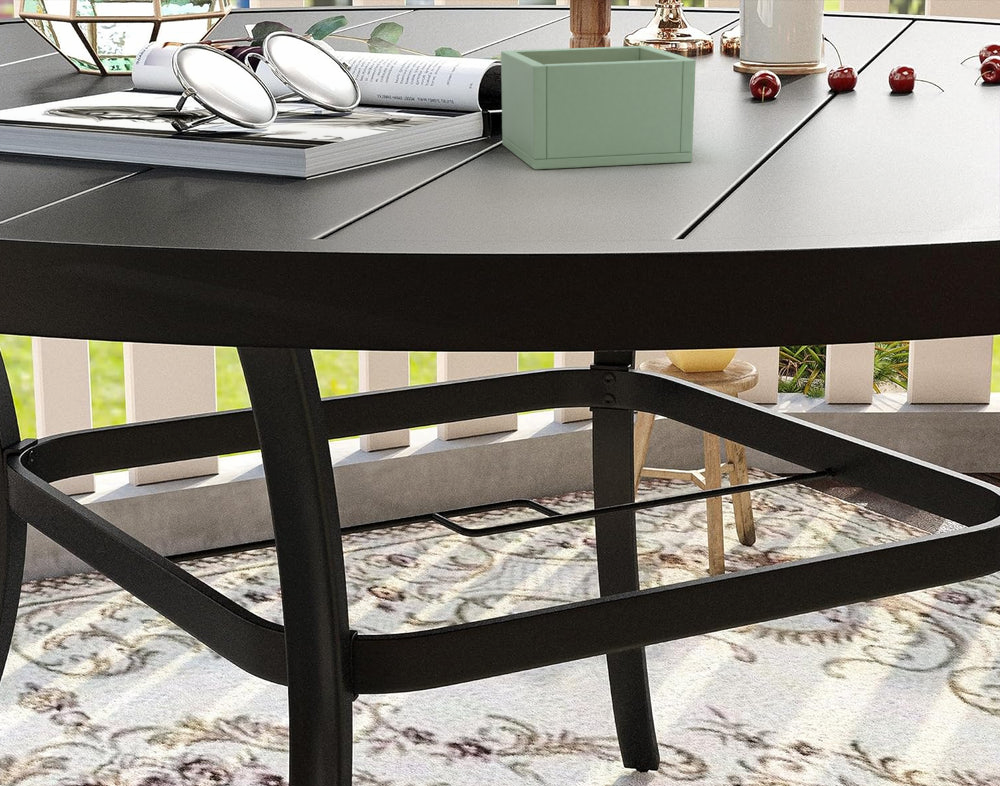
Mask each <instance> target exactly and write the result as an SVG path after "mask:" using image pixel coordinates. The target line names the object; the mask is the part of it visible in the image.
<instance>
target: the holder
mask: <svg viewBox="0 0 1000 786" xmlns="http://www.w3.org/2000/svg"><path fill="white" fill-rule="evenodd" d="M696 62H697V61H696V59H694V58H690V57H686V56H685V55H684V56H683V55H680V54H676V53H673V52H670V51H667V50H664V49H660V48H657V47H653V46H650V45H628V46H627V45H626V46H601V47H600V46H599V47H570V48H569V47H568V48H541V49H538V48H537V49H514V50H512V49H511V50H501V52H500V66H501V68H500V69H501V74H500V75H501V134H502V137H501V139H502V140H501V141H502V146H504V147H505V148H506V149H507V150H508V151H510V152H511V153H513V154H514V155H515V156H516V157H517V158H519V159H520V160H522V161H523V162H524V163H525V164H526V165H527V166H529V167H531V168H532V169H533V170H535V171H536V170H554V169H571V168H573V169H575V168H593V167H594V168H595V167H596V168H597V167H616V166H633V165H634V166H635V165H652V164H653V165H655V164H656V165H657V164H673V163H674V164H675V163H676V164H677V163H692V161H693V145H694V143H693V142H694V117H695V93H696V92H695V90H696V89H695V88H696Z"/></svg>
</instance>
